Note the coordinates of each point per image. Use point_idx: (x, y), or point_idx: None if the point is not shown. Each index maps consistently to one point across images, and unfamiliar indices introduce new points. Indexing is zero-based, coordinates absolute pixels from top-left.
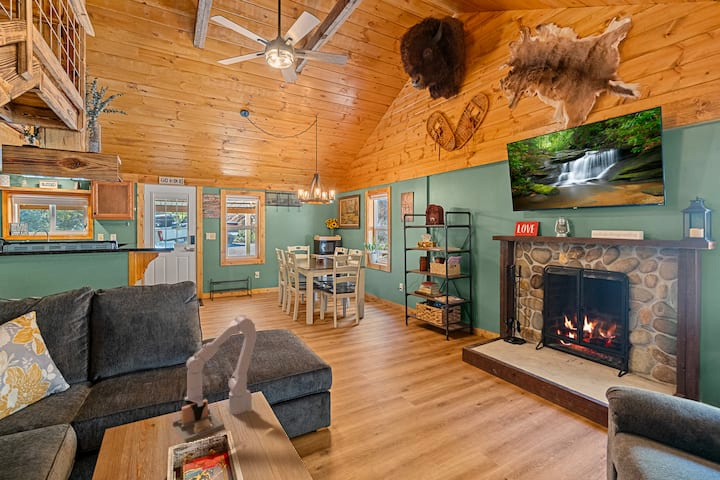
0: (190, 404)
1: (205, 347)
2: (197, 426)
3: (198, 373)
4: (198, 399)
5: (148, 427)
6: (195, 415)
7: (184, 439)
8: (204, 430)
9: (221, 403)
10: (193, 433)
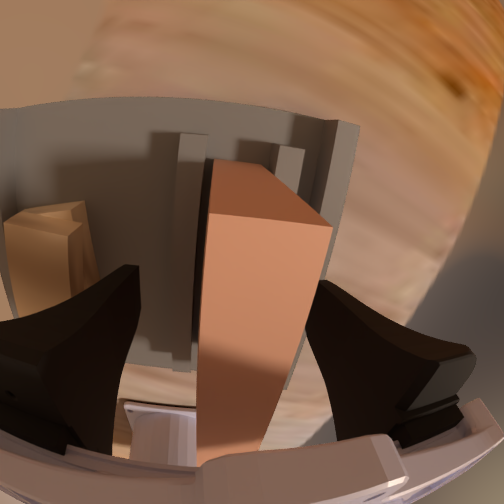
0: (276, 375)
1: None
2: (11, 233)
3: None
4: (25, 501)
5: (448, 55)
6: (85, 296)
7: (39, 111)
8: (5, 255)
9: (321, 414)
10: (64, 190)
